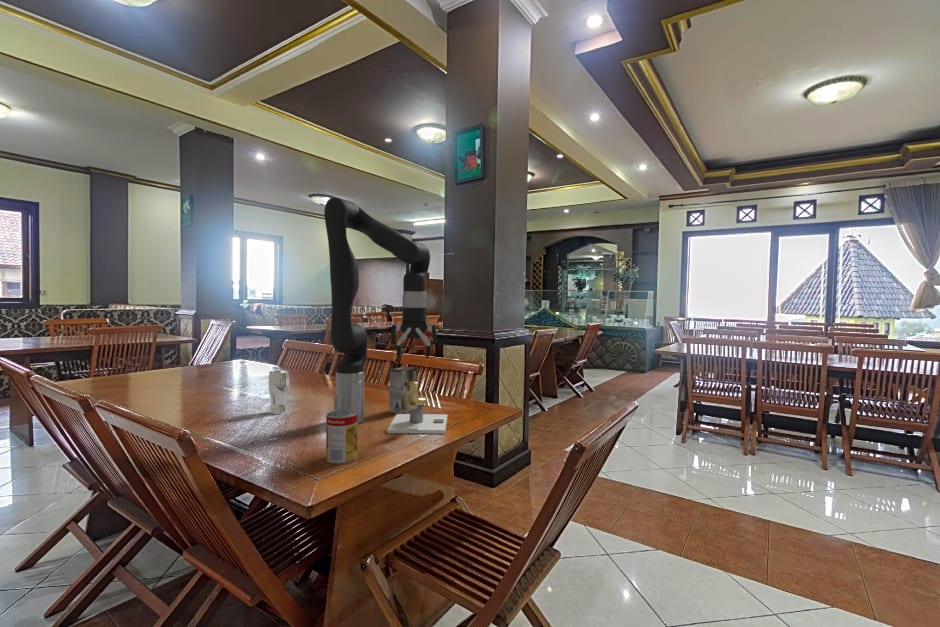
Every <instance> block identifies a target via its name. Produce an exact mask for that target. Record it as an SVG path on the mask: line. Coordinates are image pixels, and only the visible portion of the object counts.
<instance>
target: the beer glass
mask: <svg viewBox="0 0 940 627" xmlns="http://www.w3.org/2000/svg"><path fill="white" fill-rule="evenodd" d="M289 390H290V371H289V370H287V369H278V370H271V371H269V372H268V392H269V396H270V397H269V398H270V403H271V404H270V411H269V414H271V415H284V414H287V413H288V412H289V409H288V408H289V407H288V396H289Z"/></svg>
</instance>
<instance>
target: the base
mask: <svg viewBox="0 0 940 627" xmlns="http://www.w3.org/2000/svg"><path fill="white" fill-rule="evenodd" d="M447 417H448V414H440V413H439V414H437V413H436V414H433V413H432V414H431V413H429V414H428V413H426V414H425V413H424V404H423V405H418V406H417V408H416V409H410V412H409V413H404V414H397V413H396V414H395V416H394V417H393V419H392V421H391V422H390V424H389V426H388V428H387V431H386V432H387V434H408V433H410V435H411V434H412V433H413V434H414V433H415V434H416V435H417V433H418V434H420V433H421V434H423V433H424V434H423V435H431V434H432V435H445V434H446V433H445V432H446V429H447V423H448V418H447ZM426 433H427V434H426ZM415 434H414V435H415Z"/></svg>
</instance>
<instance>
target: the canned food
mask: <svg viewBox="0 0 940 627" xmlns="http://www.w3.org/2000/svg"><path fill="white" fill-rule="evenodd" d="M325 416H326V419H325V420H326V422H325V424H326V433H325V434H326V451H325V452H326V461H327V462H328V463H330V464H337V465H338V464H339V465H340V464H348V463H350V462H353V461H356V460H357V458H358V424H357V411H355V410H349V409H342V410H334V409H333V410H331V411H328V412H327V413H326V415H325Z"/></svg>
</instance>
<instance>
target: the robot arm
mask: <svg viewBox="0 0 940 627" xmlns="http://www.w3.org/2000/svg"><path fill="white" fill-rule="evenodd" d="M323 211H324V212H323V213H324V214H323V216H324V223H325V230H326V236H327V241H328V242H327V243H328V257H329V275H330V276H329V277H330V288H331V289H330V290H331V292H330V293H331V319H330V320H331V324H330V325H331V326H330V341H331V345H332V347H333V348H334V350H335V351H336V352H338V353H341V354H342V353H343V356H342V358H341V359H340V360H339V361H338V362H336V365H335V394H334V395H333V411H334V410H342V409H349V410H355V411H357V425H359V424H361V423H363V422H364V421H365V366H366V362H367V357H368V334H367V330H366V329H365V327H364V326H362V325H360V324H358V323H352V310H353V309H352V308H353V304H354V302H355V299H356V297H357V294H358V292H359V291H358V290H359V288H360V273H359V265H358V262H357V259H356V257H355V255H354V252H353V251H352V249H351V246H350V245H349V241H348V236H347V229H351V230H354V231H357V232H360V233H362V234H364V235H365V236H367V237H368V238H369V239H370V240H371V241H372V242H373V243H374V244H376V245H377V246H379V247H381V248H382V249H384V250H386V251H387V252H389V253H391V254H392V255H393V256H394V257H396V259H398V260H399V261H401V262H403V263H405V264H408V265H410V266H409V272H407V273H405V274H404V276H403V282H402V283H403V285H402V287H403V289H402V290H403V292H402V297H401V298H402V300H401V301H402V304H401V305H402V306H401V309H402V310H401V312H402V314H401V324H396V323H394V324H392V325H391V332H390V343H391V344H394V345H395V346H396V356H398V358H400V359H401V358H402V357H403V345H402V344H403V342H404V341H405V340H406V339H410V340H411V339H418V340H419V339H422V341H423V342H424V343H425V344H426V346H425V358H426V359H429V357H430V356H431V354H432V346H433V345H437V343H438V336H437V334H438V333H437V325H436V324H433V325H428V324H427V304H428V303H427V292H426V290H427V289H426V288H427V285H426V284H427V280H426V279H427V274H428V271H429V267H430V262H431V253H430V250H429V248H428V246H427V245H426V244H424V243H422V242H421V243H420V242H416V241H413V240H410V239H408V238H407V237H405V235H404V234H403V233H401V232H399V231H398V230H396V229H394V228H392V227H390V226H389V225H387V224H385V223H383V222H381V221H379V220H377V219H375V218H374V217H372V216H371V215H369V214H368V213H367V212H366V211H365V210H363V208H361V207H360V206H359V205H357V204H356V203H355V202H353V201H351V200H348V199H344V198H341V197H337V196H336V197H335V196H333V197H331V198H330V197H329V199H327V201H326V203H325V206H324V210H323ZM400 330H401V331H402V333H403V334H402V335H401V337H400V338H399V339H398V340H397V333H398V332H399V331H400ZM427 330H429V332H430V333H431V339H432V340H430V339H429V337H428V336H427V335H426V334H425V333H426V331H427Z"/></svg>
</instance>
